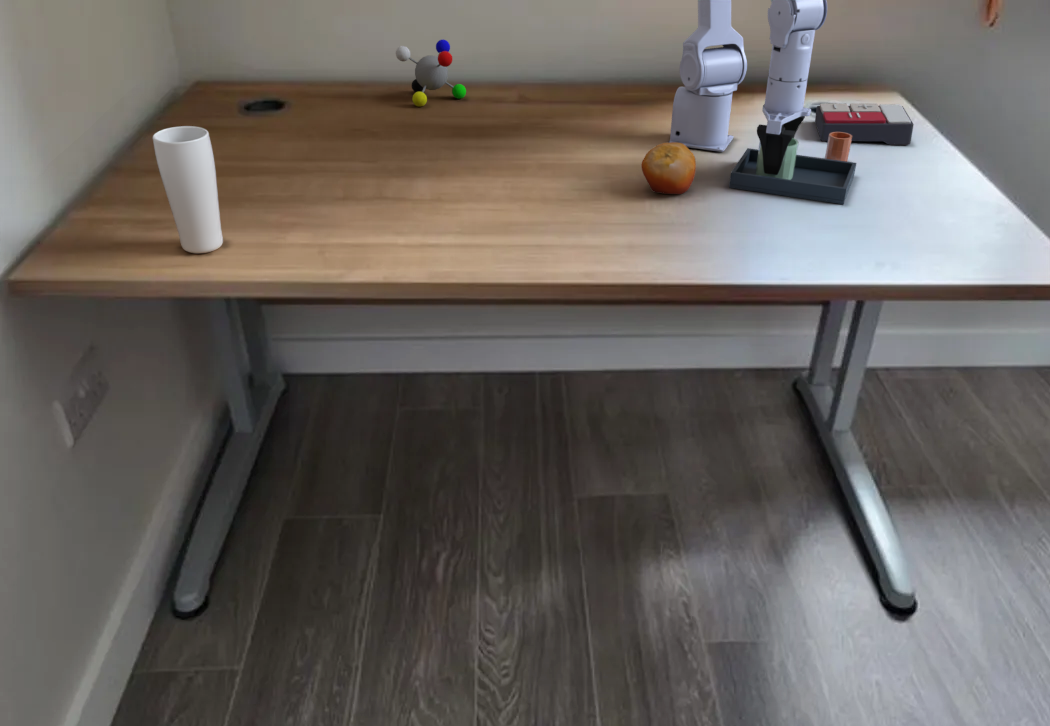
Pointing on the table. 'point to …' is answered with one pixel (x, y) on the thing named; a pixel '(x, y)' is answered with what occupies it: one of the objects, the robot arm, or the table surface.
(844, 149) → the brown cup
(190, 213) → the drinking glass
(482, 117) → the table surface
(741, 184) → the tray
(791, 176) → the green cup
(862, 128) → the grey and red box
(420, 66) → the molecular model
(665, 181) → the fruit
